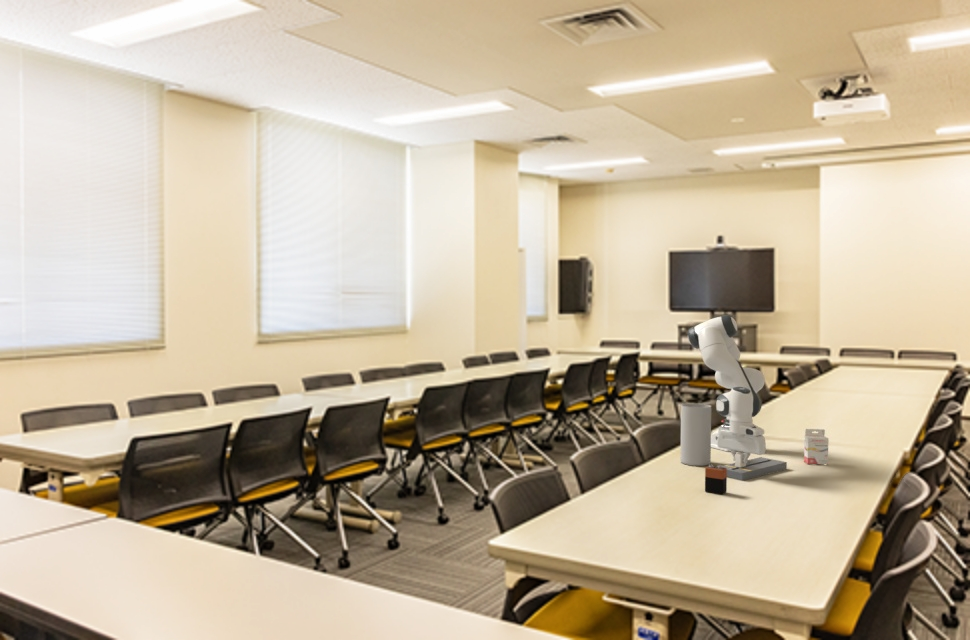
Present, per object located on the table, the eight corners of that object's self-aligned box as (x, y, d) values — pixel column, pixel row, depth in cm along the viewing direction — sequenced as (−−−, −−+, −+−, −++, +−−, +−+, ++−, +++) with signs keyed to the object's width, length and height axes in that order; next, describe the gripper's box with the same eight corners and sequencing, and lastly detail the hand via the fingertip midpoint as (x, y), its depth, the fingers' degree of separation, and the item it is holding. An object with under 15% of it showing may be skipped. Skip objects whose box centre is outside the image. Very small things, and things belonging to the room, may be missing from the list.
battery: (723, 495, 268) (723, 467, 268) (704, 492, 272) (704, 465, 271) (726, 492, 271) (727, 465, 271) (708, 489, 275) (708, 463, 275)
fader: (734, 471, 298) (735, 454, 298) (740, 469, 300) (740, 452, 300) (740, 472, 296) (740, 455, 296) (745, 471, 299) (746, 453, 298)
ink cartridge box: (807, 464, 317) (808, 430, 316) (803, 462, 322) (804, 428, 321) (828, 465, 316) (829, 431, 316) (824, 462, 321) (824, 429, 321)
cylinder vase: (714, 466, 313) (715, 407, 312) (684, 466, 313) (685, 407, 312) (705, 460, 326) (706, 403, 325) (677, 459, 325) (677, 403, 325)
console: (715, 474, 298) (715, 467, 298) (760, 464, 318) (760, 457, 318) (742, 480, 289) (742, 472, 289) (786, 469, 308) (786, 462, 308)
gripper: (714, 425, 304) (713, 458, 304) (759, 432, 288) (758, 467, 288) (723, 423, 308) (722, 456, 308) (768, 430, 292) (767, 465, 292)
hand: (740, 462), depth 298 cm, fingers closed on fader, 2 cm apart
